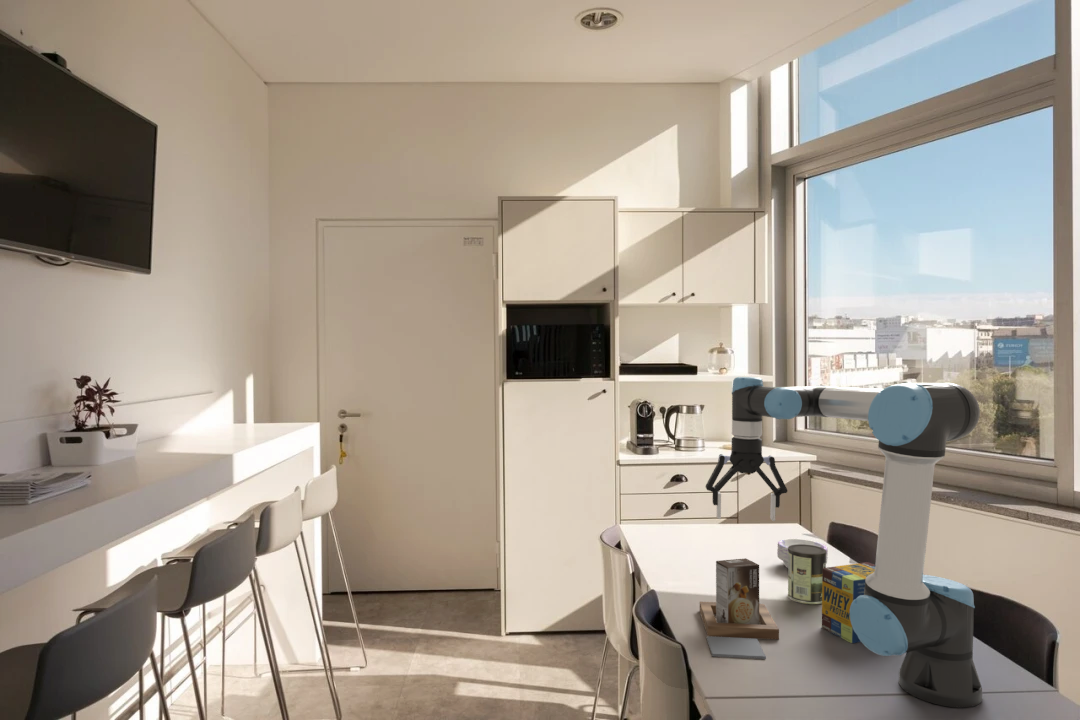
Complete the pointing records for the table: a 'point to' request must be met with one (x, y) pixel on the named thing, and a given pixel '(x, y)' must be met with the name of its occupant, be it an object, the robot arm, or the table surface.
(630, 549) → the table surface
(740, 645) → the rubber mat
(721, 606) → the coffee box
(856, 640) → the protein box
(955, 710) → the table surface
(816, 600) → the coffee can
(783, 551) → the paper bowls
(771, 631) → the pocket block
